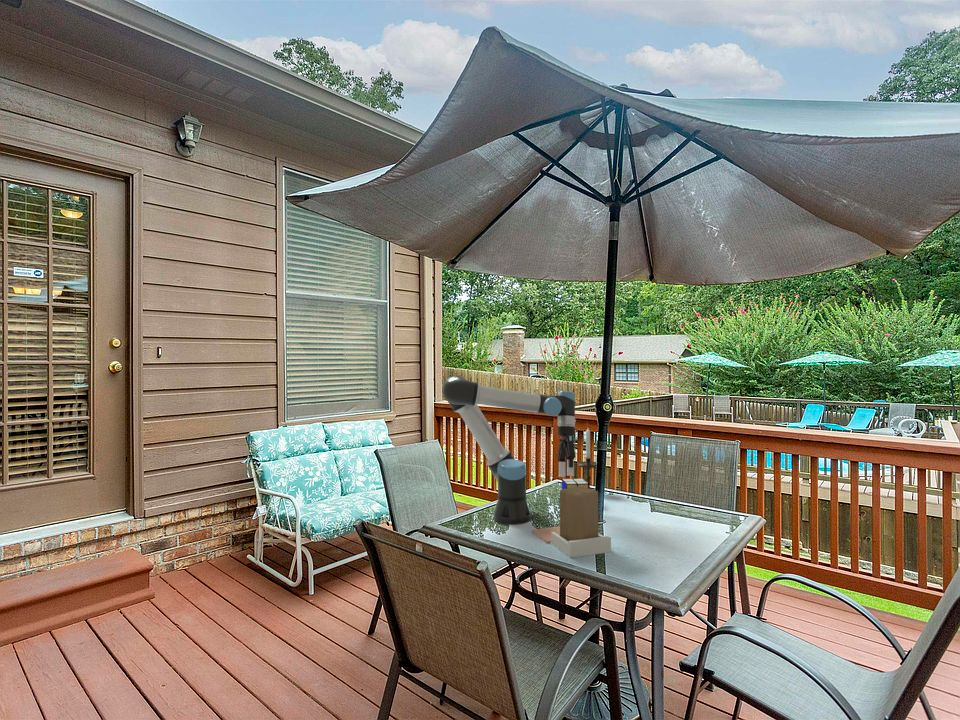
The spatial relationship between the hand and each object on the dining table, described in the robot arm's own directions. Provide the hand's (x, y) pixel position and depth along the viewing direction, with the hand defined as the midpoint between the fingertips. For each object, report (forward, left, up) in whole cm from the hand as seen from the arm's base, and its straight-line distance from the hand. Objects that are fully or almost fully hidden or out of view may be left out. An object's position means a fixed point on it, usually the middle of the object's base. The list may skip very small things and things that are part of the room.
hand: (566, 476), depth 226 cm
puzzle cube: (+11, +13, -16) cm, 23 cm away
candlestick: (+26, +27, -16) cm, 41 cm away
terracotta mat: (-15, -24, -16) cm, 32 cm away
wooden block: (-15, -38, -16) cm, 44 cm away
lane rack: (-15, -38, -16) cm, 44 cm away
